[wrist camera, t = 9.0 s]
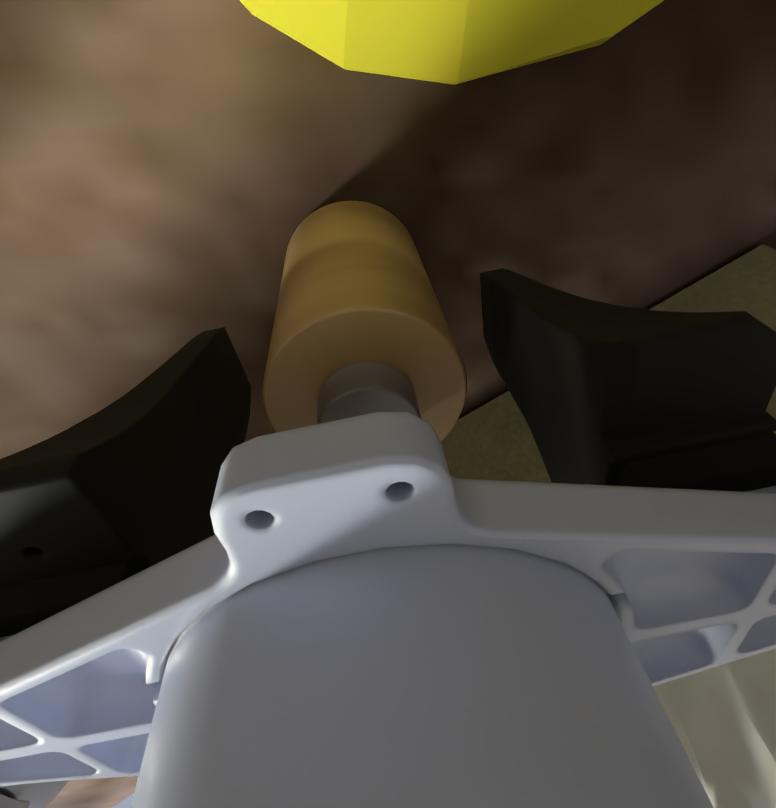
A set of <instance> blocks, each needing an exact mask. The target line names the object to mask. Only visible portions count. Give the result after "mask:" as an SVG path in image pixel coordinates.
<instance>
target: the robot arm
mask: <svg viewBox="0 0 776 808" xmlns="http://www.w3.org/2000/svg"><path fill="white" fill-rule="evenodd" d="M480 280H481V297H482V314H483V331H484V339H485V342H486V344H487V347H488V350H489V353H490V355H491V358H492V360H493V363H494V365H495V367H496V369H497V370H498V372H499V374H500V376H501V378H502V379H503V381H504V383H505V385H506V386H507V388H508V390H509V392H510V393H511V395H512V397H513V399H514V400H515V402H516V404H517V406H518V407H519V409H520V411H521V413H522V414H523V416H524V418H525V420H526V422H527V424H528V426H529V428H530V430H531V432H532V435H533V437H534V440H535V442H536V445H537V447H538V449H539V452H540V454H541V457H542V459H543V462H544V464H545V467H546V470H547V472H548V475H549V477H550V480H551V482H552V483H544V482H522V481H501V480H479V479H458V478H455V477H452V476H451V475H450V473H449V470H448V466H447V463H446V459H445V456H444V452H443V448H442V445H441V441H440V439H439V438H438V436H437V434H436V432H435V431H434V429H433V427H432V425H431V423H429V422H427V421H425V420H423V419H421V418H419V417H417V416H415V415H413V414H411V413H409V412H375V413H370V414H365V415H360V416H355V417H350V418H345V419H340V420H336V421H331V422H326V423H321V424H316V425H311V426H306V427H301V428H297V429H292V430H287V431H282V432H277V433H272V434H267V435H262V436H258V437H255V438H253V439H251V440H249V441H246V442H244V441H245V437H246V432H247V426H248V421H249V416H250V402H251V385H250V383H249V380H248V378H247V376H246V374H245V371H244V369H243V367H242V365H241V363H240V360H239V358H238V356H237V354H236V351H235V349H234V347H233V345H232V342H231V340H230V338H229V336H228V333H227V331H226V329H225V327H223V328H218V329H214V330H209V331H204V332H202V333H200V334H199V335H197V336H196V337H195V338H193V339H192V340H191V341H190V342H188V343H187V344H186V345H185V346H184V347H183V348H181V349H180V350H179V351H178V352H177V353H176V354H174V355H173V356H172V357H171V358H170V359H169V360H168V361H166V362H165V363H164V364H163V365H162V366H161V367H159V368H158V369H157V370H156V371H155V372H153V373H152V374H151V375H150V376H148V377H147V378H146V379H145V380H143V381H142V382H141V383H140V384H138V385H137V386H136V387H135V388H133V389H132V390H131V391H129V392H128V393H126V394H125V395H124V396H122V397H121V398H119V399H118V400H116V401H115V402H113V403H112V404H110V405H109V406H107V407H106V408H104V409H102V410H101V411H99V412H98V413H96V414H94V415H92V416H90V417H89V418H87V419H85V420H83V421H82V422H80V423H78V424H76V425H74V426H73V427H71V428H69V429H67V430H65V431H63V432H61V433H59V434H57V435H55V436H53V437H51V438H49V439H47V440H45V441H43V442H40V443H38V444H36V445H34V446H31V447H29V448H27V449H25V450H22V451H20V452H18V453H15V454H13V455H10V456H7V457H5V458H2V459H0V808H43V807H44V806H46V805H47V804H48V803H49V802H50V801H51V800H52V799H53V798H54V797H55V796H56V795H57V794H58V793H59V792H60V791H61V789H62V788H63V787H64V786H65V784H66V783H67V782H68V780H80V779H95V778H110V777H125V776H138V780H137V784H136V788H135V792H134V796H133V800H132V804H131V808H713V806H712V804H711V802H710V800H709V798H708V796H707V794H706V792H705V790H704V788H703V786H702V784H701V782H700V780H699V778H698V776H697V774H696V772H695V770H694V768H693V766H692V764H691V762H690V760H689V758H688V756H687V754H686V752H685V750H684V748H683V746H682V744H681V742H680V740H679V738H678V736H677V734H676V732H675V730H674V728H673V726H672V724H671V722H670V720H669V718H668V716H667V714H666V712H665V710H664V708H663V706H662V704H661V702H660V700H659V698H658V696H657V694H656V692H655V690H654V688H653V686H656V685H659V684H662V683H665V682H669V681H672V680H675V679H678V678H681V677H685V676H688V675H691V674H694V673H697V672H701V671H704V670H707V669H710V668H713V667H717V666H720V665H723V664H726V663H729V662H733V661H736V660H739V659H742V658H745V657H749V656H752V655H755V654H758V653H761V652H765V651H768V650H771V649H774V648H776V434H775V433H774V432H773V431H776V419H775V418H774V417H773V416H771V415H770V414H769V413H768V412H767V411H766V409H767V406H768V404H769V401H770V399H771V397H772V394H773V392H774V389H775V387H776V332H775V331H774V330H773V329H771V328H770V327H768V326H767V325H765V324H764V323H762V322H761V321H759V320H758V319H756V318H755V317H754V316H752V315H751V314H749V313H748V312H746V311H732V312H671V311H656V310H645V309H638V308H630V307H623V306H617V305H611V304H607V303H602V302H598V301H593V300H589V299H585V298H582V297H578V296H575V295H572V294H569V293H566V292H563V291H560V290H557V289H554V288H552V287H549V286H547V285H544V284H542V283H539V282H537V281H534V280H532V279H529V278H527V277H525V276H522V275H520V274H517V273H515V272H512V271H510V270H507V269H503V268H501V269H497V270H492V271H487V272H483V273H480Z"/></svg>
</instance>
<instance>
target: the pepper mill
mask: <svg viewBox="0 0 776 808" xmlns="http://www.w3.org/2000/svg"><path fill="white" fill-rule="evenodd" d="M466 393H467V377H466V372H465V367H464V364H463V362H462V359H461V356H460V354H459V351H458V349H457V346H456V344H455V341H454V339H453V337H452V334H451V332H450V329H449V327H448V324H447V322H446V320H445V317H444V315H443V312H442V310H441V307H440V305H439V302H438V300H437V298H436V295H435V293H434V290H433V288H432V285H431V283H430V281H429V278H428V276H427V273H426V271H425V268H424V266H423V263H422V261H421V259H420V256H419V254H418V251H417V249H416V246H415V244H414V241H413V239H412V237H411V235H410V233H409V232H408V230H407V229H406V228H405V226H404V225H403V224H402V223H401V222H400V221H399V219H398V218H396V217H395V216H394V215H393V214H391V213H390V212H388V211H387V210H385V209H383V208H381V207H379V206H377V205H374V204H371V203H367V202H362V201H341V202H335V203H332V204H328V205H326V206H324V207H321V208H319V209H318V210H316V211H314V212H313V213H311V214H310V215H309V216H308V217H307V218H305V219H304V220H303V221H302V223H301V224H300V225H299V226H298V227H297V229H296V230H295V232H294V233H293V235H292V237H291V240H290V242H289V245H288V248H287V252H286V258H285V263H284V269H283V275H282V280H281V286H280V291H279V297H278V303H277V308H276V314H275V319H274V325H273V330H272V336H271V342H270V347H269V353H268V358H267V364H266V369H265V375H264V381H263V387H262V397H263V404H264V410H265V413H266V415H267V418H268V421H269V423H270V424H271V426H272V428H273V430H274V431H275V433H277V432H282V431H287V430H292V429H297V428H301V427H306V426H311V425H316V424H321V423H326V422H331V421H336V420H340V419H345V418H350V417H355V416H360V415H365V414H370V413H375V412H409V413H411V414H413V415H415V416H417V417H419V418H421V419H423V420H425V421H427V422H429V423H431V425H432V427H433V429H434V431H435V432H436V434H437V436H438V438H439V439H440V441H442V440H443V439H444V438H445V437H446V436H447V435H448V434H449V432H450V431H451V430H452V428H453V427H454V425H455V424H456V422H457V421H458V419H459V417H460V414H461V412H462V409H463V406H464V403H465V399H466Z"/></svg>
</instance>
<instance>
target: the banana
mask: <svg viewBox="0 0 776 808" xmlns="http://www.w3.org/2000/svg"><path fill="white" fill-rule="evenodd" d="M240 1H241V3H242V4H243V5H244V6H245V7H246V8H247V9H248V10H249V11H250V12H251V13H252V14H253V15H254V16H256V17H258V18H259V19H261V20H263V21H264V22H266V23H268V24H269V25H271V26H273V27H274V28H276V29H278V30H279V31H281V32H283V33H285V34H286V35H288V36H290V37H291V38H293V39H295V40H296V41H298V42H300V43H301V44H303V45H305V46H306V47H308V48H310V49H311V50H313V51H315V52H316V53H318V54H320V55H321V56H323V57H325V58H326V59H328V60H330V61H331V62H333V63H335V64H337V65H338V66H340V67H342V68H343V69H346V70H352V71H359V72H366V73H374V74H381V75H388V76H395V77H403V78H410V79H417V80H424V81H431V82H439V83H446V84H453V85H455V84H459V83H462V82H466V81H470V80H473V79H477V78H481V77H484V76H488V75H492V74H496V73H499V72H503V71H507V70H510V69H514V68H518V67H521V66H525V65H529V64H532V63H536V62H540V61H543V60H547V59H551V58H554V57H558V56H562V55H565V54H569V53H573V52H576V51H580V50H584V49H588V48H591V47H595V46H599V45H601V44H603V43H604V42H605V41H607V40H608V39H610V38H611V37H613V36H614V35H615V34H617V33H618V32H620V31H621V30H623V29H624V28H625V27H627V26H628V25H630V24H631V23H633V22H634V21H635V20H637V19H638V18H640V17H641V16H643V15H644V14H645V13H647V12H648V11H650V10H651V9H653V8H654V7H655V6H657V5H658V4H660V3H661V2H663V1H664V0H240Z"/></svg>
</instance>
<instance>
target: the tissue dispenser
mask: <svg viewBox="0 0 776 808" xmlns="http://www.w3.org/2000/svg"><path fill="white" fill-rule="evenodd" d="M649 310H656V311H671V312H732V311H746V312H748V313H749V314H751V315H752V316H754V317H755V318H756V319H758V320H759V321H761V322H762V323H764V324H765V325H767V326H768V327H770V328H771V329H773V330H774V331H775V332H776V249H775V248H773V247H771V246H769V245H760V246H758V247H757V248H755V249H753V250H752V251H750V252H748V253H746V254H745V255H743V256H741V257H739V258H738V259H736V260H734V261H732V262H731V263H729V264H727V265H726V266H724V267H722V268H720V269H719V270H717V271H715V272H713V273H712V274H710V275H708V276H706V277H705V278H703V279H701V280H700V281H698V282H696V283H694V284H693V285H691V286H689V287H687V288H686V289H684V290H682V291H680V292H679V293H677V294H675V295H674V296H672V297H670V298H668V299H667V300H665V301H663V302H661V303H660V304H658V305H656V306H655V307H653V308H651V309H649ZM766 411H767V412H768V413H769V414H770V415H771V416H773V417H774V418H775V419H776V387H775V389H774V392H773V394H772V397H771V399H770V401H769V404H768V406H767V409H766ZM773 432H774V433H775V434H776V431H773ZM441 445H442V448H443V452H444V456H445V459H446V463H447V466H448V470H449V473H450V475H451V476H452V477H455V478H458V479H479V480H501V481H522V482H544V483H552V482H551V480H550V477H549V475H548V472H547V470H546V467H545V464H544V462H543V459H542V457H541V454H540V452H539V449H538V447H537V445H536V442H535V440H534V437H533V435H532V432H531V430H530V428H529V426H528V424H527V422H526V420H525V418H524V416H523V414H522V413H521V411H520V409H519V407H518V406H517V404H516V402H515V400H514V399H513V397H512V395H511V393H510V392H509V391H507V392H505V393H504V394H502V395H500V396H499V397H497V398H495V399H493V400H492V401H490V402H488V403H486V404H485V405H483V406H481V407H479V408H478V409H476V410H474V411H473V412H471V413H469V414H467V415H466V416H464V417H462V418H460V419H459V420H458V421H457V422H456V424H455V425H454V427H453V428H452V430H451V431H450V432H449V434H448V435H447V436H446V437H445V438H444V439H443V440H442V441H441ZM653 688H654V690H655V692H656V694H657V696H658V698H659V700H660V702H661V704H662V706H663V708H664V710H665V712H666V714H667V716H668V718H669V720H670V722H671V724H672V726H673V728H674V730H675V732H676V734H677V736H678V738H679V740H680V742H681V744H682V746H683V748H684V750H685V752H686V754H687V756H688V758H689V760H690V762H691V764H692V766H693V768H694V770H695V772H696V774H697V776H698V778H699V780H700V782H701V784H702V786H703V788H704V790H705V792H706V794H707V796H708V798H709V800H710V802H711V804H712V806H713V808H776V648H774V649H771V650H768V651H765V652H761V653H758V654H755V655H752V656H749V657H745V658H742V659H739V660H736V661H733V662H729V663H726V664H723V665H720V666H717V667H713V668H710V669H707V670H704V671H701V672H697V673H694V674H691V675H688V676H685V677H681V678H678V679H675V680H672V681H669V682H665V683H662V684H659V685H656V686H653Z"/></svg>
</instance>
